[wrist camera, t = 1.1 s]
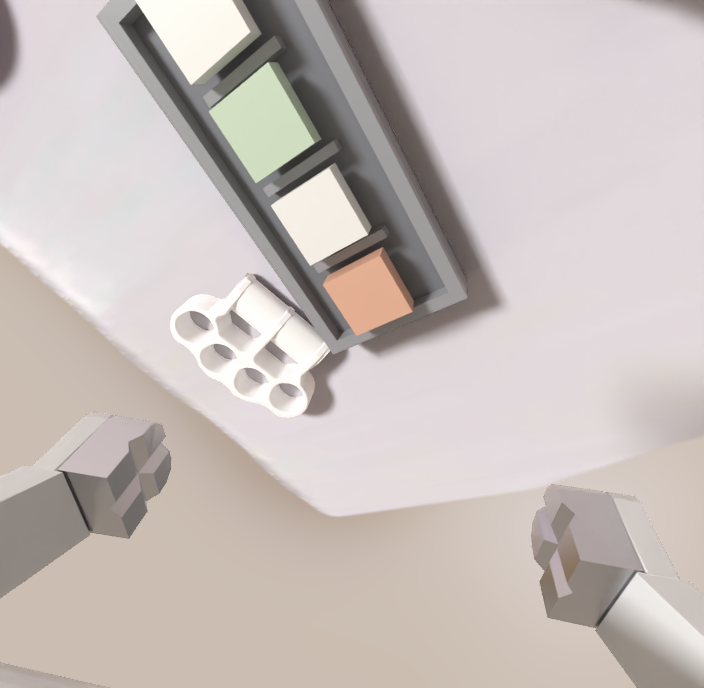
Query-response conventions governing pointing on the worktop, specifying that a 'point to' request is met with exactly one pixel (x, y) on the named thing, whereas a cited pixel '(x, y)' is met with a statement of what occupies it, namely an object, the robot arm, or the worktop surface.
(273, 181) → the grey divided tray
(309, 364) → the knuckle duster
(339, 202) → the off-white square tile
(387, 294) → the block
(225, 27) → the key cream end
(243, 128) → the key sage
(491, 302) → the worktop surface
